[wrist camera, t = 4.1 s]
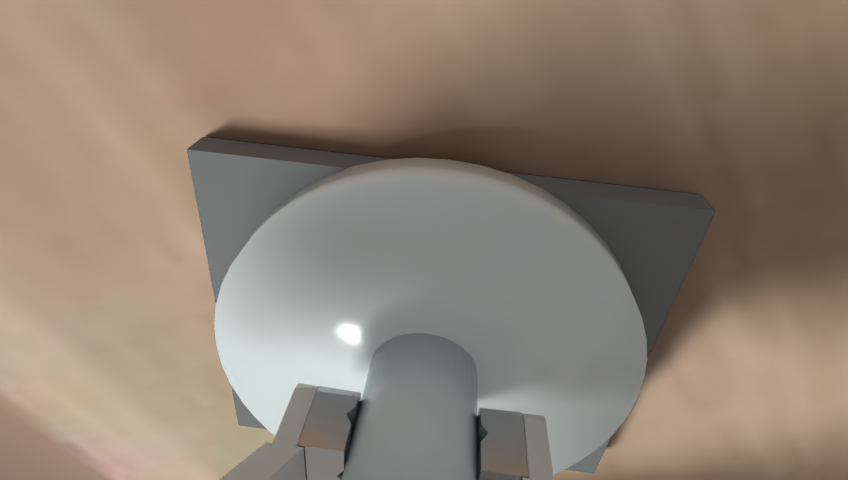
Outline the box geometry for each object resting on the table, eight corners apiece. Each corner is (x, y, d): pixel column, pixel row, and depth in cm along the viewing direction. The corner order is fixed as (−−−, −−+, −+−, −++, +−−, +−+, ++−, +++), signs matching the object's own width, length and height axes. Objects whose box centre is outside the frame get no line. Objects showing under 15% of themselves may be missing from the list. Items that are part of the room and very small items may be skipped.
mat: (701, 194, 12) (715, 211, 11) (589, 452, 17) (594, 473, 16) (203, 136, 12) (186, 149, 11) (248, 405, 18) (238, 425, 17)
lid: (701, 188, 11) (853, 370, 6) (575, 480, 17) (609, 676, 12) (205, 131, 11) (27, 265, 7) (254, 436, 17) (177, 612, 13)
